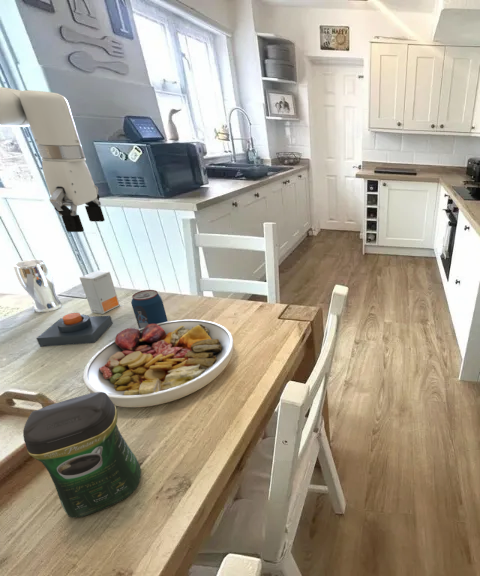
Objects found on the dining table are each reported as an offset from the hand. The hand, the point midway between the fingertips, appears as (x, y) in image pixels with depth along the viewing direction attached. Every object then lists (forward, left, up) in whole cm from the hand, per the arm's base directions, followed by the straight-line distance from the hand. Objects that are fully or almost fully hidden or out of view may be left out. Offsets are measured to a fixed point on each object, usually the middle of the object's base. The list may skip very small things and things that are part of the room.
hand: (87, 226), depth 82 cm
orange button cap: (-9, -3, -26) cm, 27 cm away
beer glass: (-25, +14, -30) cm, 41 cm away
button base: (-9, -3, -30) cm, 31 cm away
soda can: (+10, -4, -30) cm, 32 cm away
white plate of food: (+19, -22, -30) cm, 42 cm away
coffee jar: (+19, -53, -30) cm, 64 cm away
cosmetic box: (-8, +11, -30) cm, 33 cm away
